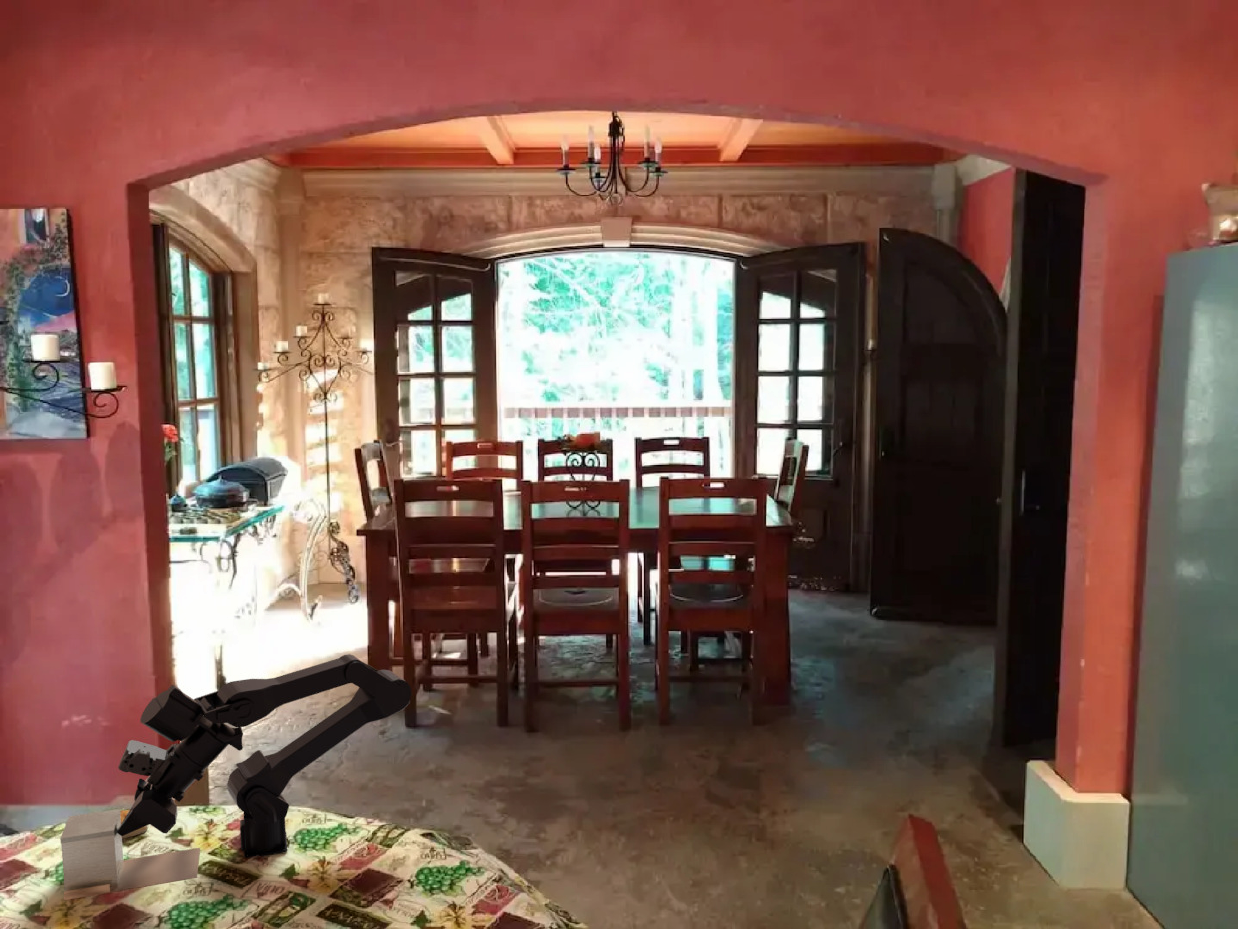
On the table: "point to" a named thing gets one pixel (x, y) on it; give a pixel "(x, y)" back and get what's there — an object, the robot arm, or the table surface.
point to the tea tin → (92, 850)
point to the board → (148, 872)
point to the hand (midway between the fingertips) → (119, 833)
